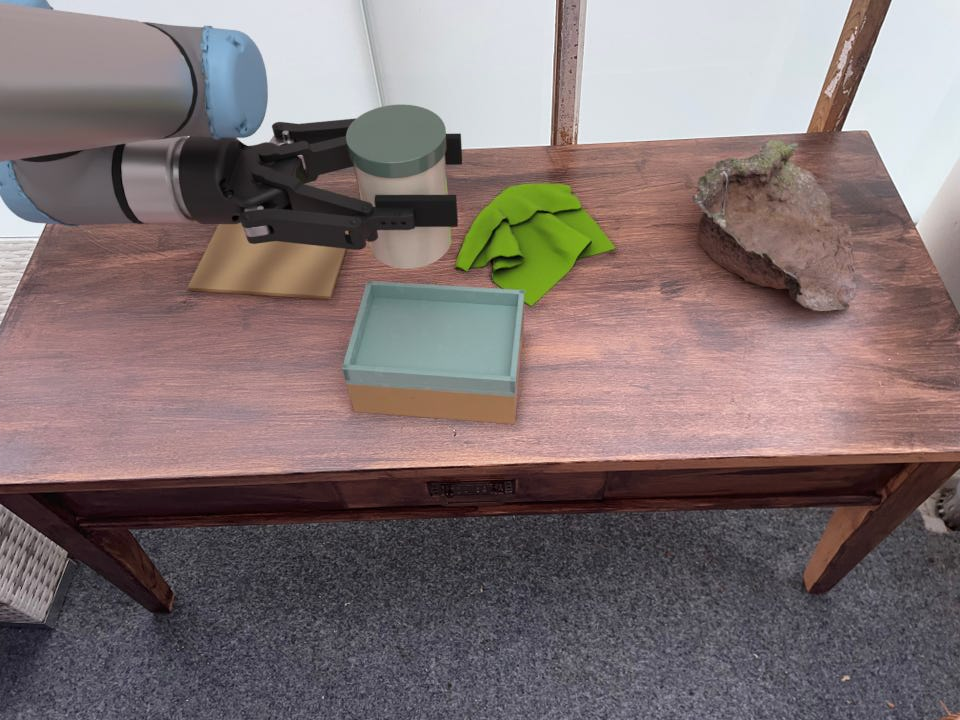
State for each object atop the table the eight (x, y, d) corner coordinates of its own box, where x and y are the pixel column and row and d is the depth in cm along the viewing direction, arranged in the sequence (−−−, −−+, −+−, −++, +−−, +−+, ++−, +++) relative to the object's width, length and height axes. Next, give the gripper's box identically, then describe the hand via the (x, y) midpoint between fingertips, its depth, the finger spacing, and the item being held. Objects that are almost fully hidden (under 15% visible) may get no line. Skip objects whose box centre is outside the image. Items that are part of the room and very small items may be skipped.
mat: (188, 290, 89) (187, 287, 89) (225, 216, 98) (224, 212, 97) (330, 299, 87) (330, 296, 87) (355, 223, 96) (355, 219, 96)
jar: (358, 268, 65) (335, 160, 56) (376, 209, 70) (357, 102, 61) (447, 273, 64) (437, 165, 55) (459, 214, 69) (452, 106, 60)
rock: (864, 355, 84) (918, 296, 76) (679, 320, 82) (716, 256, 75) (818, 214, 100) (859, 154, 92) (664, 183, 99) (692, 120, 91)
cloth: (572, 175, 101) (574, 161, 99) (635, 283, 88) (638, 268, 86) (430, 204, 98) (429, 190, 96) (473, 320, 85) (473, 306, 83)
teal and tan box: (354, 412, 77) (341, 368, 71) (376, 326, 85) (367, 280, 79) (514, 424, 76) (515, 381, 70) (523, 335, 83) (524, 289, 77)
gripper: (235, 146, 71) (465, 144, 70) (174, 297, 59) (455, 297, 58) (210, 75, 65) (462, 72, 65) (137, 225, 53) (450, 225, 52)
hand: (458, 178), depth 61 cm, fingers closed on jar, 8 cm apart
